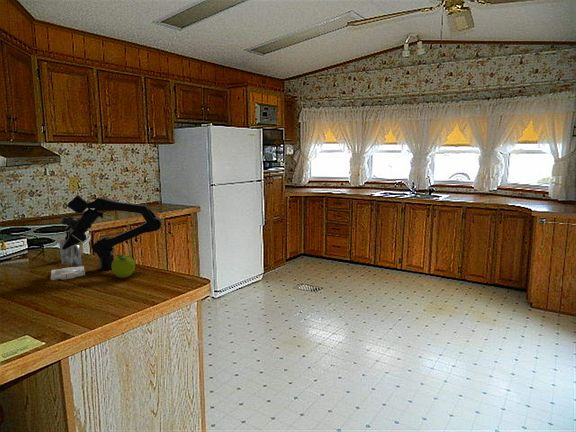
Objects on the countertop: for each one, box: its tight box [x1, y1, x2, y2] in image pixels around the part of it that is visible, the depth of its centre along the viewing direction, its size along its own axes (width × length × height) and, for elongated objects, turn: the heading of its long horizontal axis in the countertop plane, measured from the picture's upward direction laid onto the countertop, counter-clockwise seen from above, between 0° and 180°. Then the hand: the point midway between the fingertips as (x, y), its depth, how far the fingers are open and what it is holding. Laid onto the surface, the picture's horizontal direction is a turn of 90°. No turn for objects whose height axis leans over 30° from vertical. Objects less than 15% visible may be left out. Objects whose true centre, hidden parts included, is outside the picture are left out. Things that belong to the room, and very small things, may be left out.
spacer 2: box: [70, 245, 83, 267], centre depth 193 cm, size 4×4×10 cm
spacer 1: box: [58, 238, 73, 265], centre depth 179 cm, size 4×4×10 cm
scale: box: [50, 265, 86, 281], centre depth 179 cm, size 13×15×2 cm
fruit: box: [111, 253, 136, 279], centre depth 173 cm, size 9×9×10 cm
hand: (62, 248), depth 177 cm, fingers closed on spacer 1, 4 cm apart
